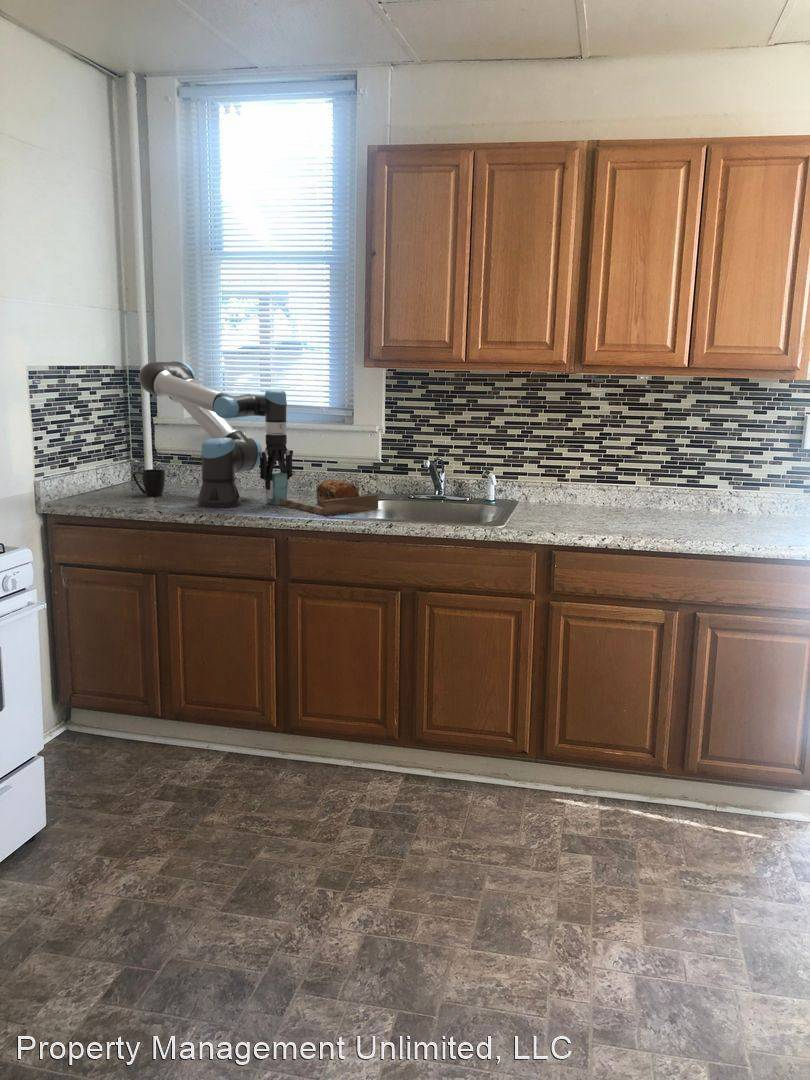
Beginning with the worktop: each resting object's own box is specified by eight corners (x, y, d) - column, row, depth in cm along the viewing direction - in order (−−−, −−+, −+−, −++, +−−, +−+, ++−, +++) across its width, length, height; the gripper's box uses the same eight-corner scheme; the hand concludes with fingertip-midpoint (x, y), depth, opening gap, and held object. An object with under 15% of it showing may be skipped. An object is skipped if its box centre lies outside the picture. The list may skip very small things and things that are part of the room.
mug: (138, 493, 350) (137, 468, 348) (168, 494, 349) (168, 469, 347) (130, 496, 342) (129, 471, 340) (161, 497, 341) (160, 472, 339)
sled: (266, 502, 335) (266, 472, 332) (322, 496, 351) (322, 467, 349) (320, 516, 310) (320, 484, 308) (378, 508, 327) (378, 478, 325)
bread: (359, 511, 323) (359, 483, 321) (330, 512, 319) (330, 484, 317) (342, 502, 340) (342, 476, 338) (315, 504, 336) (315, 477, 334)
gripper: (260, 435, 320) (261, 501, 325) (302, 433, 332) (302, 496, 337) (248, 434, 326) (249, 498, 330) (290, 431, 337) (291, 493, 342)
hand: (276, 497), depth 334 cm, fingers closed on sled, 5 cm apart
